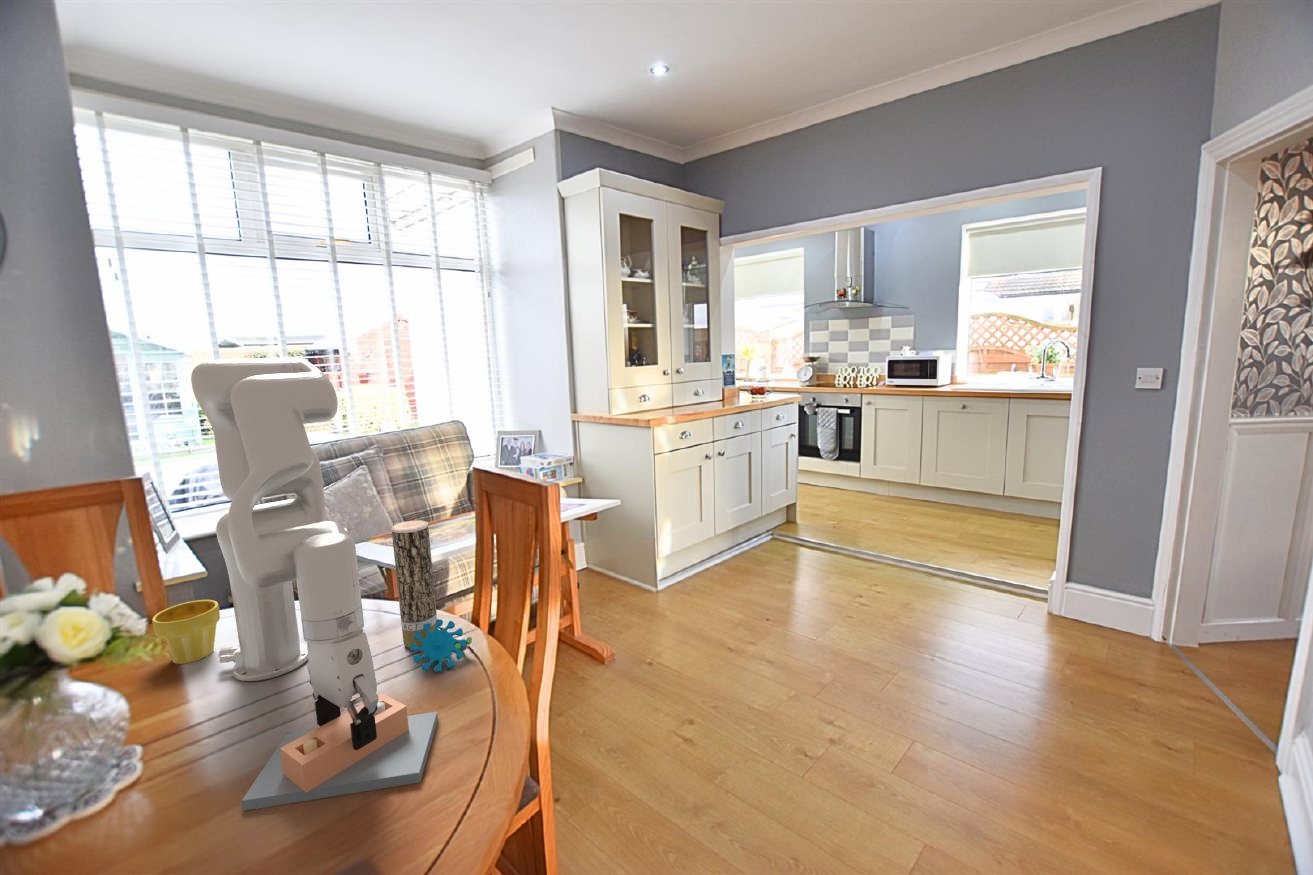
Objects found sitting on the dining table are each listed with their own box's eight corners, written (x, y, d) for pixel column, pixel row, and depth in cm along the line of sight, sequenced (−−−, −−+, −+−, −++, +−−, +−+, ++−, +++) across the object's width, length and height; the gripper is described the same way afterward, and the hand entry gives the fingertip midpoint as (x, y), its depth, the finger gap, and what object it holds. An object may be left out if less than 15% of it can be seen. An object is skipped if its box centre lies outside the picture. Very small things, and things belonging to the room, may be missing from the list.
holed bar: (306, 792, 77) (302, 765, 76) (283, 774, 80) (279, 748, 80) (408, 729, 89) (406, 705, 88) (385, 716, 92) (382, 693, 92)
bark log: (426, 631, 124) (415, 518, 121) (445, 639, 120) (434, 523, 117) (397, 644, 119) (384, 527, 115) (415, 653, 115) (403, 532, 111)
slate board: (243, 810, 76) (236, 769, 75) (288, 741, 89) (283, 705, 89) (420, 782, 80) (416, 742, 79) (437, 720, 94) (434, 685, 93)
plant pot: (190, 671, 111) (182, 623, 110) (145, 667, 113) (137, 620, 112) (237, 644, 121) (230, 600, 120) (196, 641, 123) (189, 598, 122)
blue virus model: (408, 672, 105) (412, 619, 111) (408, 682, 109) (411, 630, 115) (472, 667, 109) (472, 615, 115) (469, 677, 113) (469, 627, 119)
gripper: (393, 625, 80) (405, 738, 82) (329, 598, 89) (341, 700, 92) (338, 649, 74) (353, 770, 76) (275, 617, 83) (290, 726, 86)
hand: (346, 732), depth 84 cm, fingers open, 9 cm apart
